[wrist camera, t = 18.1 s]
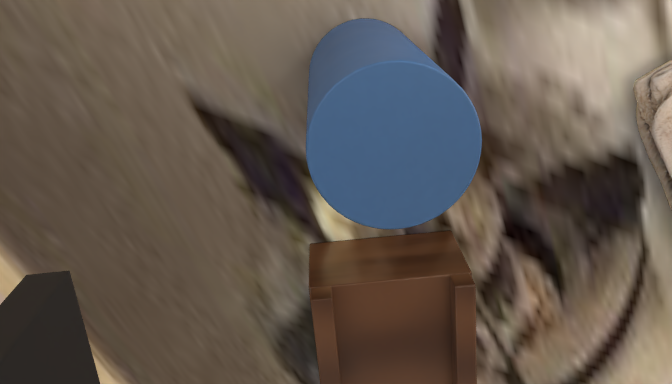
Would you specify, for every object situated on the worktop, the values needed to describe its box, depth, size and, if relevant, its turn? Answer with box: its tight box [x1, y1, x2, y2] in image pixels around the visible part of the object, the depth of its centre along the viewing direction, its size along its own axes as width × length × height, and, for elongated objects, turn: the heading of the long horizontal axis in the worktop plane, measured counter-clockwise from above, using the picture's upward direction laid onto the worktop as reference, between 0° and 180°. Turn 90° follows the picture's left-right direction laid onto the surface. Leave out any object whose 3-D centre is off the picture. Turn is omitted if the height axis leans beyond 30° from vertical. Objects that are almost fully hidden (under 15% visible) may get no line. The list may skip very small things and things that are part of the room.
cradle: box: [309, 231, 477, 384], centre depth 34 cm, size 8×8×6 cm
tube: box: [306, 19, 482, 229], centre depth 26 cm, size 13×6×6 cm
